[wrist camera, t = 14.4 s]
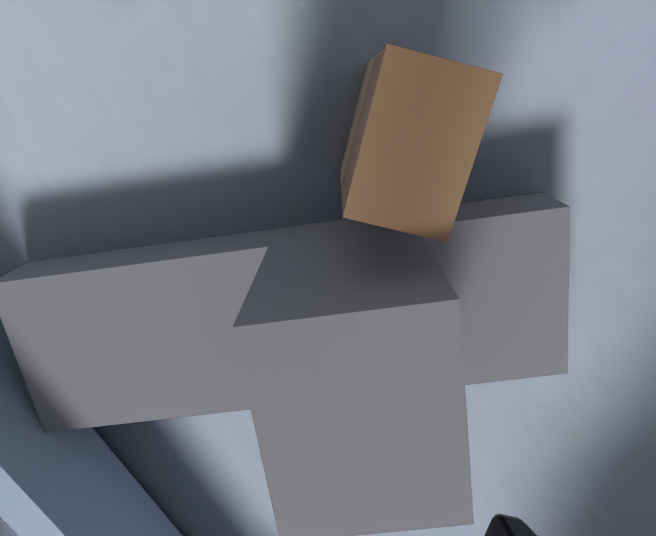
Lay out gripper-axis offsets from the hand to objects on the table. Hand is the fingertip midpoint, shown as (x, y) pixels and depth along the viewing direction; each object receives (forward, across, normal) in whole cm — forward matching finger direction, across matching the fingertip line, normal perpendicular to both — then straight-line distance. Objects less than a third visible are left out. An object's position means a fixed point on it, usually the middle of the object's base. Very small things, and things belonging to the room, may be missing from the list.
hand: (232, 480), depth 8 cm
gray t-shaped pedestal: (+8, -2, 0) cm, 9 cm away
